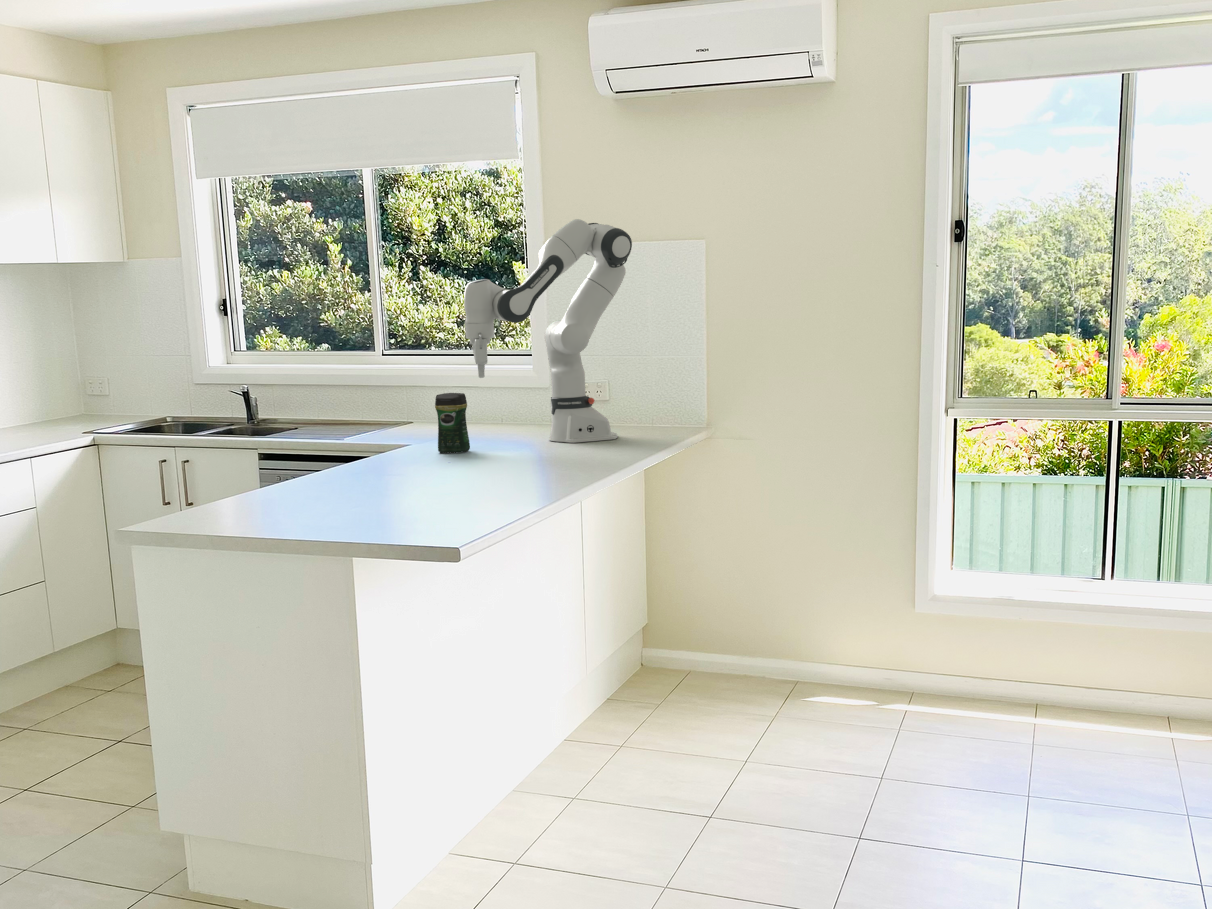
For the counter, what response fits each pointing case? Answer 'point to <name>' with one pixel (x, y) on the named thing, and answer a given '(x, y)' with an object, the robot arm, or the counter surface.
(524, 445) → the counter surface
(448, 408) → the coffee jar
